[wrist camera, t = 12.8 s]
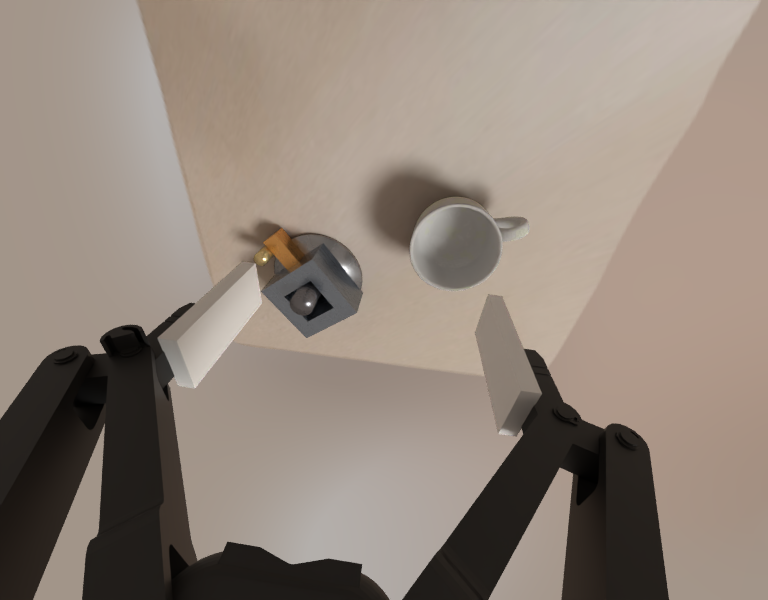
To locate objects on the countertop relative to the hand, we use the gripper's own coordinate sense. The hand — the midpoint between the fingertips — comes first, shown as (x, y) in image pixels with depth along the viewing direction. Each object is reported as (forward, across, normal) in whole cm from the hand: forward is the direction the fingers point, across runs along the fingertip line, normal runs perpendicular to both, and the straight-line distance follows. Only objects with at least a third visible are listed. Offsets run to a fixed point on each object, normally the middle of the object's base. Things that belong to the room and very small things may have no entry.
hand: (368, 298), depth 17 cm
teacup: (+27, +9, -4) cm, 29 cm away
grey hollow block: (+26, -12, -14) cm, 32 cm away
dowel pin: (+27, -18, -11) cm, 34 cm away
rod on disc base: (+27, -11, -15) cm, 33 cm away
